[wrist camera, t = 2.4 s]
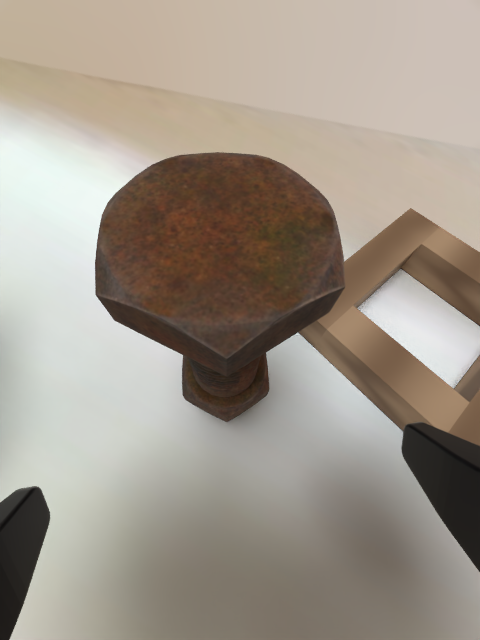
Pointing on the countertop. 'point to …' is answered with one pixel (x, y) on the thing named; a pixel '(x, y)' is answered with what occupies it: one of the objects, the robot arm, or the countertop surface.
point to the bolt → (219, 267)
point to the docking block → (382, 350)
